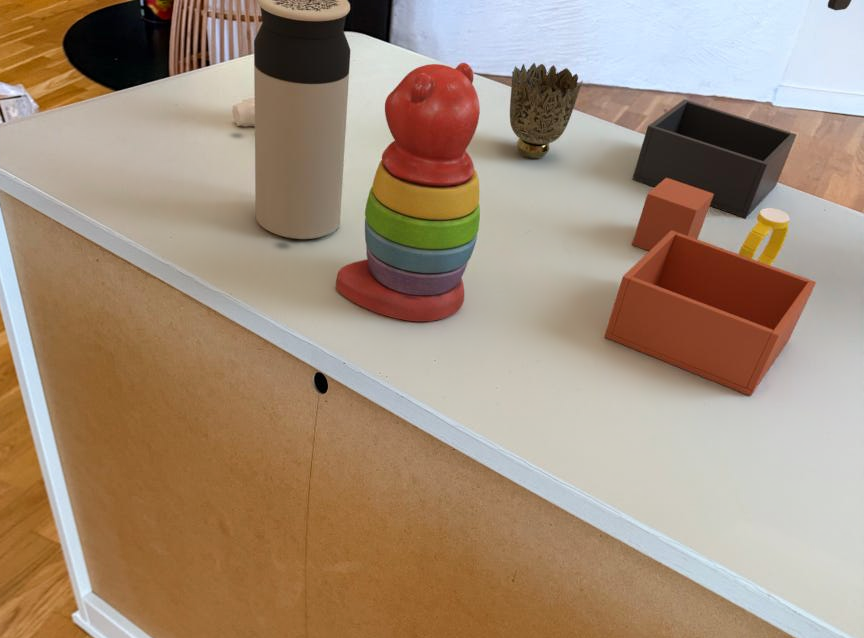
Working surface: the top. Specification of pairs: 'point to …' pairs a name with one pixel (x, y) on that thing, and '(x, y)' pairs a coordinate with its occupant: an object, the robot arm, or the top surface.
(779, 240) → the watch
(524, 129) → the cup
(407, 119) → the stacking bear
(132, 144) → the top surface
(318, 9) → the travel mug
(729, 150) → the charcoal bin
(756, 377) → the terracotta bin
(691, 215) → the terracotta block
